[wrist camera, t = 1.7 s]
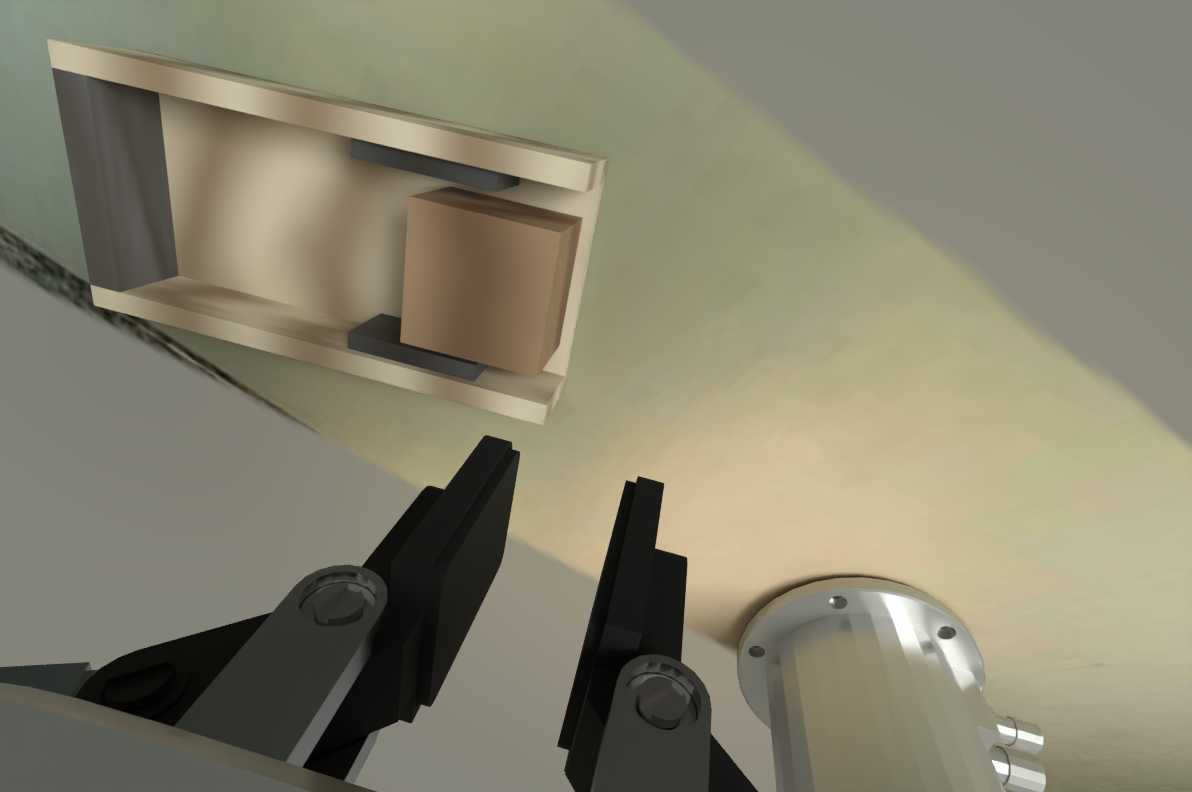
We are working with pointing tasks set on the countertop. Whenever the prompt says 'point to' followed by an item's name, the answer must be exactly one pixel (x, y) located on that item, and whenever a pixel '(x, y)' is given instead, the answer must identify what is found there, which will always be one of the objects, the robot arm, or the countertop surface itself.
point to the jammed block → (487, 278)
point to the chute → (291, 214)
